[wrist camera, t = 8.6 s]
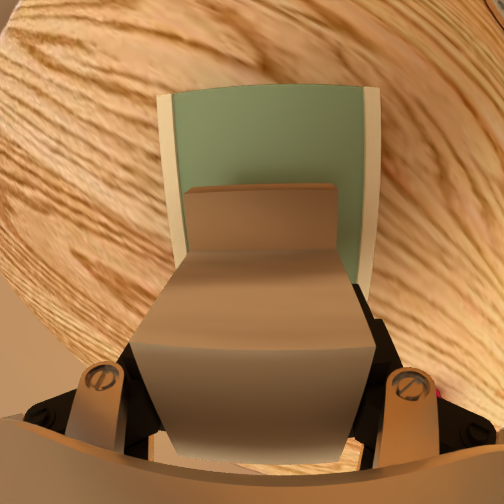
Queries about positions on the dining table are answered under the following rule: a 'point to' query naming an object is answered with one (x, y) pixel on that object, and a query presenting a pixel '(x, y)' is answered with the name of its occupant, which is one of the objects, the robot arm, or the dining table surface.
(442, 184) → the dining table surface
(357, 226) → the dock
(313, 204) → the butter dish
